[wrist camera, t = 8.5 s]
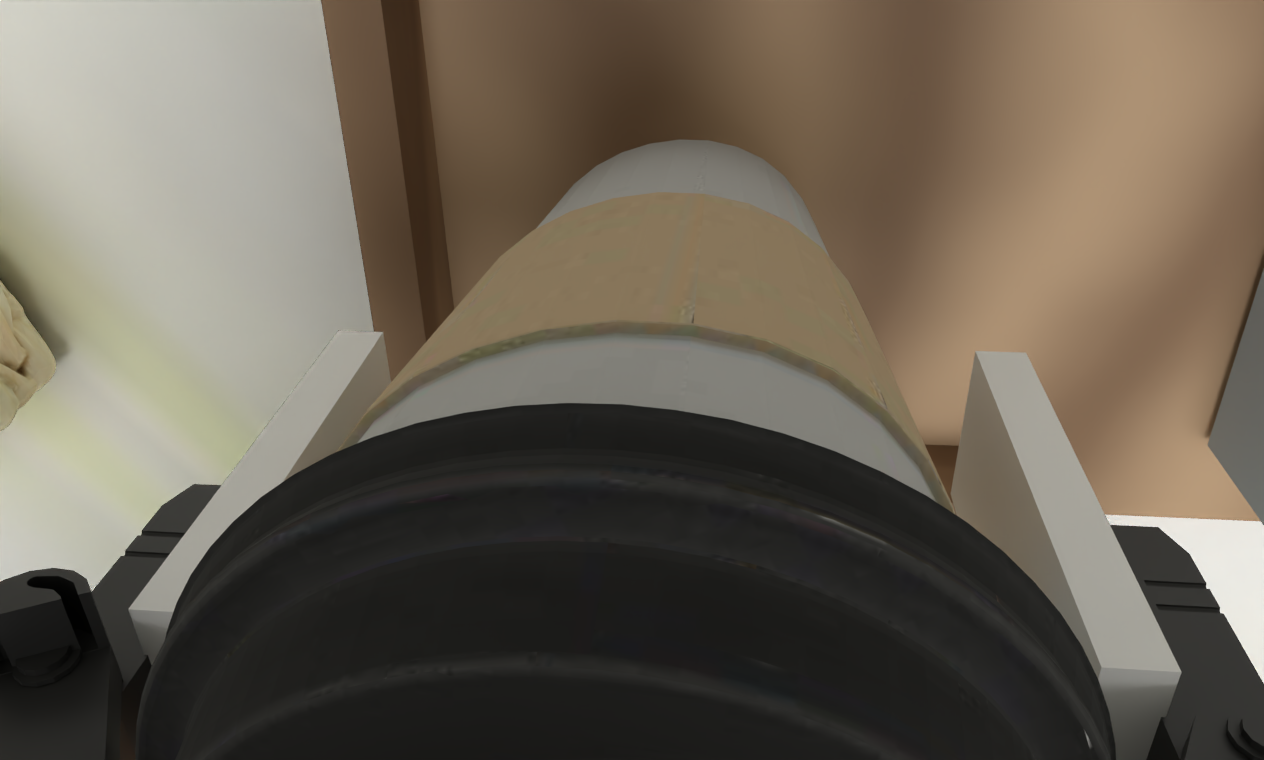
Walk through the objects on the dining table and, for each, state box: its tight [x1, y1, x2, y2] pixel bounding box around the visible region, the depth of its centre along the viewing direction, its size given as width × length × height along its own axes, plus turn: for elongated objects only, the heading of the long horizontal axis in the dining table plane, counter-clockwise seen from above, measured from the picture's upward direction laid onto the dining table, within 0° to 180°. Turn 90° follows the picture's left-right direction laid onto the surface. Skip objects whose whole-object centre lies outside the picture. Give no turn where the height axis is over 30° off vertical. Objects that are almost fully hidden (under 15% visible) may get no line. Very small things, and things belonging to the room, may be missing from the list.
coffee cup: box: [135, 140, 1116, 760], centre depth 15 cm, size 9×9×15 cm
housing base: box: [321, 0, 1264, 521], centre depth 23 cm, size 24×16×4 cm, turn 91°
